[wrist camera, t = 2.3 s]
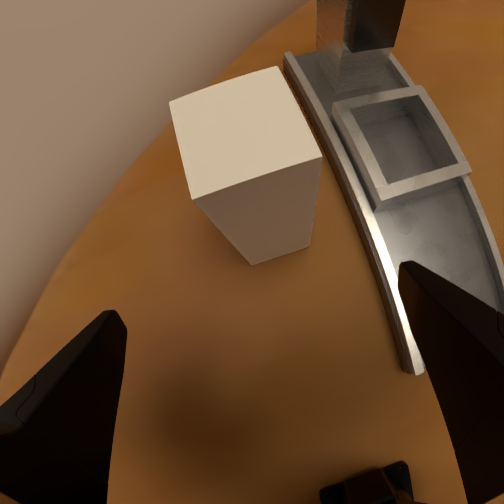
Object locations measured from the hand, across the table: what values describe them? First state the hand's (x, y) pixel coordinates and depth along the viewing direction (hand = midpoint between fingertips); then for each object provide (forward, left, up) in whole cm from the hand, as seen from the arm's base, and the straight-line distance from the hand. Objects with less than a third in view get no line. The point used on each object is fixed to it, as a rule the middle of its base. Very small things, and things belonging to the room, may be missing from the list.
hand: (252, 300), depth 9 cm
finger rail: (+5, -11, -11) cm, 17 cm away
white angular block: (+5, -1, -11) cm, 13 cm away
